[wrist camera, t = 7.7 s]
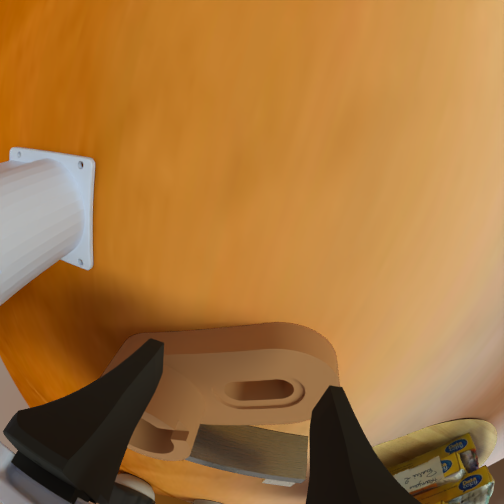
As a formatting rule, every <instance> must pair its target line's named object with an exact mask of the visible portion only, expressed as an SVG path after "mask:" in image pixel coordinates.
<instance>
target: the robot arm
mask: <svg viewBox="0 0 504 504" xmlns="http://www.w3.org/2000/svg"><path fill="white" fill-rule="evenodd" d="M82 162H83V167H82V165H81V163H82ZM94 176H95V162H94V160H93V159H92V158H90V157H84V156H78V155H71V154H65V153H58V152H51V151H44V150H37V149H29V148H21V147H13V148H11V150H10V160H9V161H6V162H3V163H0V306H1V305H2V304H3V303H4V302H5V301H7V300H8V299H9V298H10V297H12V296H13V295H14V294H15V293H16V292H18V291H19V290H20V289H21V288H23V287H24V286H25V285H26V284H28V283H29V282H30V281H32V280H33V279H34V278H36V277H37V276H38V275H39V274H41V273H42V272H43V271H45V270H46V269H47V268H49V267H50V266H52V265H53V264H54V263H56V262H57V261H58V260H60V259H61V260H63V261H65V262H68V263H70V264H73V265H75V266H78V267H80V268H83V269H85V270H90V269H91V268H92V267H93V193H94ZM81 260H82V261H83V262H82V261H81ZM163 359H164V342H161V341H158V340H155V339H152V338H150V339H148V340H147V341H146V342H145V343H144V344H143V345H142V346H141V347H140V348H138V349H137V350H136V351H135V352H134V353H133V354H131V355H130V356H129V357H128V358H127V359H125V360H124V361H123V362H121V363H120V364H119V365H118V366H116V367H115V368H114V369H112V370H111V371H109V372H108V373H106V374H105V375H103V376H102V377H101V378H99V379H97V380H96V381H94V382H92V383H91V384H89V385H87V386H85V387H84V388H82V389H80V390H78V391H76V392H74V393H72V394H70V395H67V396H65V397H63V398H60V399H58V400H55V401H52V402H49V403H46V404H44V405H40V406H36V407H32V408H28V409H24V410H20V411H18V412H17V413H16V414H15V415H14V416H13V417H12V419H11V420H10V422H9V423H8V425H7V426H6V428H5V429H4V431H3V432H4V435H5V436H6V437H7V439H8V440H9V441H10V442H11V443H12V444H13V445H14V446H15V448H17V450H18V451H17V453H16V454H15V453H13V452H12V451H11V450H10V449H9V448H8V447H6V446H5V445H4V444H3V443H1V442H0V502H2V503H3V504H90V503H88V502H89V501H90V502H93V503H95V504H96V503H99V504H107V503H109V500H110V497H111V493H112V490H113V486H114V483H115V480H116V477H117V474H118V471H119V468H120V465H121V462H122V459H123V457H124V454H125V451H126V449H127V446H128V444H129V441H130V439H131V436H132V434H133V432H134V430H135V428H136V426H137V424H138V422H139V421H140V419H141V417H142V415H143V413H144V411H145V410H146V408H147V406H148V404H149V402H150V401H151V399H152V397H153V395H154V393H155V391H156V389H157V386H158V384H159V381H160V379H161V376H162V374H163ZM306 504H422V503H421V502H419V501H418V500H417V499H416V498H415V497H413V496H412V495H411V494H410V493H409V492H408V491H407V490H406V489H405V488H403V487H402V486H401V485H400V483H399V482H398V481H397V480H396V479H395V478H394V477H393V476H392V474H391V473H390V472H389V471H388V470H387V468H386V467H385V466H384V465H383V463H382V462H381V460H380V459H379V457H378V456H377V455H376V453H375V451H374V450H373V448H372V447H371V445H370V443H369V441H368V440H367V438H366V436H365V434H364V432H363V430H362V428H361V426H360V424H359V422H358V420H357V418H356V416H355V414H354V412H353V410H352V408H351V405H350V403H349V401H348V399H347V396H346V394H345V392H344V390H343V388H342V387H338V386H332V385H329V387H328V388H327V390H326V391H325V393H324V394H323V395H322V397H321V398H320V400H319V401H318V403H317V404H316V406H315V407H314V408H313V410H312V415H311V423H310V478H309V486H308V493H307V499H306Z"/></svg>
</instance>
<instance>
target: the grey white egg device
mask: <svg viewBox="0 0 504 504" xmlns="http://www.w3.org/2000/svg"><path fill="white" fill-rule="evenodd" d="M154 500H155V495H154V491H153V489H152V487H151V486H150V485H149V484H148V483H147V482H145V481H144V480H142V479H140V478H138V477H136V476H133V475H130V474H117V477H116V480H115V483H114V486H113V490H112V493H111V497H110V500H109V503H107V504H155V501H154Z"/></svg>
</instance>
